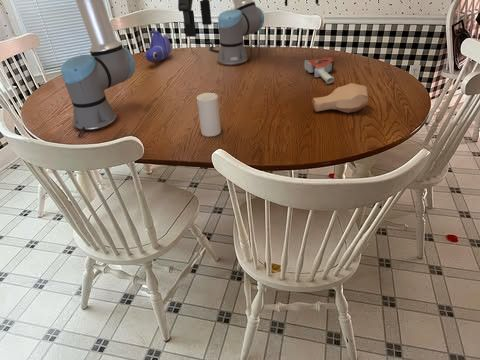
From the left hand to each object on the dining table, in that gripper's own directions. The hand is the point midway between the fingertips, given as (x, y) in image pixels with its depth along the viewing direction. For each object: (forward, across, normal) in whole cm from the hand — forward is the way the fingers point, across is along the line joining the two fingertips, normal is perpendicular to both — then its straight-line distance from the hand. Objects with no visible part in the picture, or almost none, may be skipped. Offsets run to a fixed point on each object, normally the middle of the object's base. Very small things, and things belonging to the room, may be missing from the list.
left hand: (199, 30), depth 103 cm
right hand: (+6, +72, -22) cm, 75 cm away
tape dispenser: (+33, +58, -33) cm, 75 cm away
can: (+33, 0, 0) cm, 33 cm away
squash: (+33, +24, -42) cm, 59 cm away
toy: (+33, +69, +52) cm, 93 cm away
